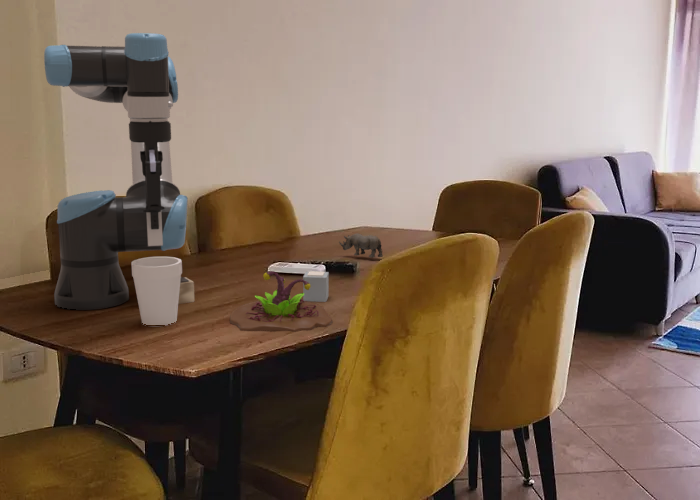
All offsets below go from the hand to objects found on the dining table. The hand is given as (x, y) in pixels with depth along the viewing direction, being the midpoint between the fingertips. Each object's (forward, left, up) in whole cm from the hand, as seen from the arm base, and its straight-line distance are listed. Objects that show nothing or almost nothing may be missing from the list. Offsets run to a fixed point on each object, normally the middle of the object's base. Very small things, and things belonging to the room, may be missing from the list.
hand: (155, 244), depth 146 cm
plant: (+23, -5, -17) cm, 29 cm away
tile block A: (+5, +16, -16) cm, 23 cm away
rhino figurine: (+58, +53, -16) cm, 80 cm away
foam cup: (0, -1, -16) cm, 16 cm away
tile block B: (+34, +10, -16) cm, 39 cm away
